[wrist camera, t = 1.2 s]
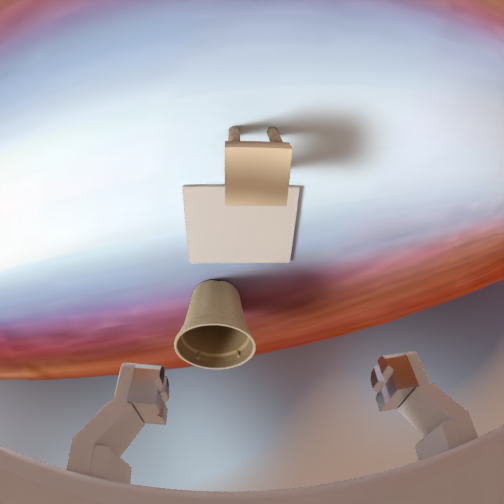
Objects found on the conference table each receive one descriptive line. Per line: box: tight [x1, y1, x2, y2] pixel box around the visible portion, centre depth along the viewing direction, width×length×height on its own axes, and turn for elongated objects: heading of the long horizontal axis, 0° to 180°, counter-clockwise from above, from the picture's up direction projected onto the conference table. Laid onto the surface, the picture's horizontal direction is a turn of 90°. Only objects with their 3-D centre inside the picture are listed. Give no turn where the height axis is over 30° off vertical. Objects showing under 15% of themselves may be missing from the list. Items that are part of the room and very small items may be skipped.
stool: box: [225, 126, 292, 206], centre depth 26 cm, size 5×5×7 cm
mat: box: [182, 185, 300, 263], centre depth 35 cm, size 10×12×1 cm
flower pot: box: [174, 280, 256, 369], centre depth 38 cm, size 9×9×9 cm
